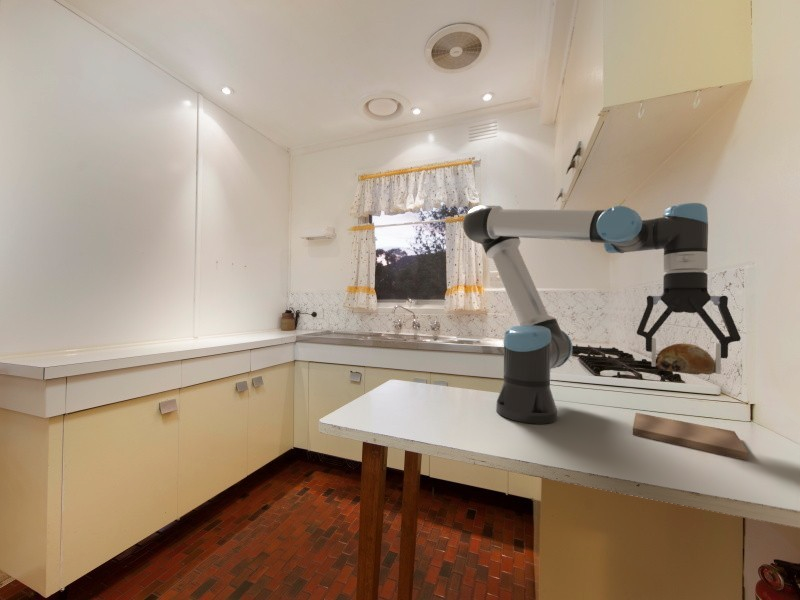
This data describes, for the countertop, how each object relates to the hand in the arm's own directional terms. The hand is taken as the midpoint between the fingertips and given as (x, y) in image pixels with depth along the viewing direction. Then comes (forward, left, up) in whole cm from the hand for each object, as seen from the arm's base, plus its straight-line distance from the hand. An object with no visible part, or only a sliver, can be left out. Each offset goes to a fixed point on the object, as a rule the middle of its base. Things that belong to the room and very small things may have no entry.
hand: (683, 369), depth 72 cm
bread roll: (0, 0, 0) cm, 1 cm away
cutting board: (0, 0, -15) cm, 15 cm away
